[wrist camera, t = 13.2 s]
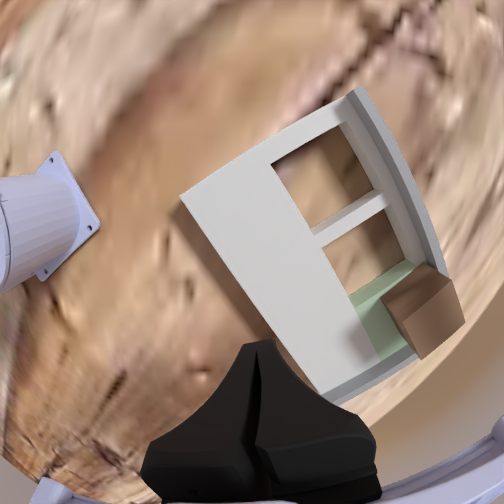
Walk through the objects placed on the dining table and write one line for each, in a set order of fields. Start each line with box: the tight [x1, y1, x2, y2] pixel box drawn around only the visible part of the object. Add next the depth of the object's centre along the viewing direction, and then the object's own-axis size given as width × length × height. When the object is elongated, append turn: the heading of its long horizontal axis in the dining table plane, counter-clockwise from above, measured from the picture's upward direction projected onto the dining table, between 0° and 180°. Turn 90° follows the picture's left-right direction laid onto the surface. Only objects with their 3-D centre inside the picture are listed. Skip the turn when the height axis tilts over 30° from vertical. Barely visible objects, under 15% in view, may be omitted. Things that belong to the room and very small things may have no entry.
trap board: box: [180, 85, 449, 406], centre depth 20 cm, size 14×21×4 cm, turn 33°
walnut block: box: [379, 262, 465, 360], centre depth 18 cm, size 4×4×4 cm
